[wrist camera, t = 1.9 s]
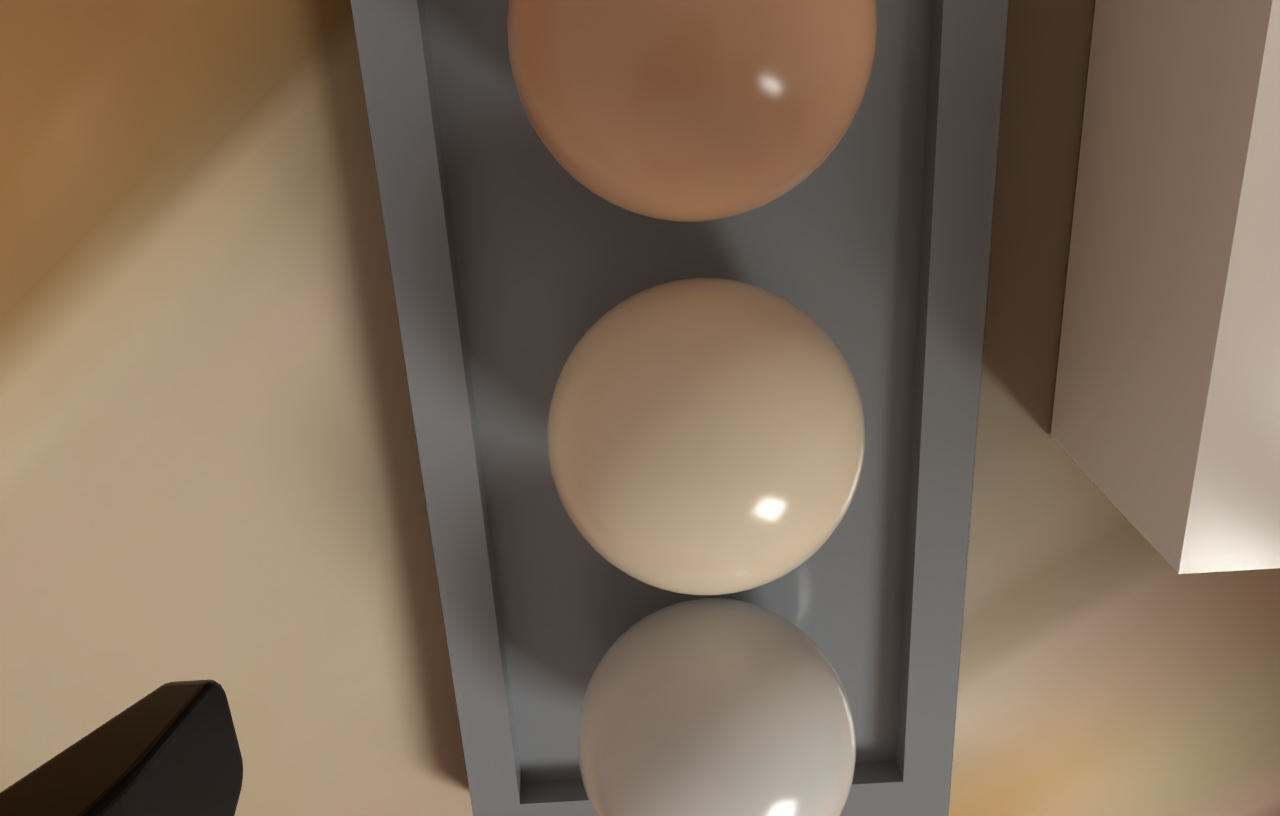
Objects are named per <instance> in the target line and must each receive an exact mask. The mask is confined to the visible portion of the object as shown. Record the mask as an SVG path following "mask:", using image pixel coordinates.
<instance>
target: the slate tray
mask: <svg viewBox="0 0 1280 816" xmlns="http://www.w3.org/2000/svg"><path fill="white" fill-rule="evenodd" d="M350 1H351V7H352V14H353V21H354V27H355V34H356V41H357V47H358V54H359V60H360V67H361V74H362V80H363V87H364V94H365V100H366V107H367V113H368V120H369V127H370V133H371V140H372V147H373V153H374V160H375V167H376V173H377V180H378V186H379V193H380V200H381V206H382V213H383V220H384V226H385V233H386V239H387V246H388V253H389V259H390V266H391V273H392V279H393V286H394V293H395V299H396V306H397V312H398V319H399V326H400V332H401V339H402V346H403V352H404V359H405V366H406V372H407V379H408V385H409V392H410V399H411V405H412V412H413V419H414V425H415V432H416V438H417V445H418V452H419V458H420V465H421V472H422V478H423V485H424V492H425V498H426V505H427V511H428V518H429V525H430V531H431V538H432V545H433V551H434V558H435V565H436V571H437V578H438V584H439V591H440V598H441V604H442V611H443V618H444V624H445V631H446V637H447V644H448V651H449V657H450V664H451V671H452V677H453V684H454V691H455V697H456V704H457V710H458V717H459V724H460V730H461V737H462V744H463V750H464V757H465V764H466V770H467V777H468V783H469V790H470V797H471V803H472V810H473V816H597V815H596V813H595V811H594V810H593V807H592V805H591V803H590V801H589V799H588V796H587V793H586V790H585V788H584V785H583V781H582V776H581V772H580V767H579V761H578V747H577V730H578V723H579V716H580V710H581V704H582V701H583V698H584V695H585V692H586V689H587V686H588V684H589V681H590V679H591V677H592V675H593V673H594V671H595V669H596V667H597V665H598V664H599V662H600V661H601V659H602V658H603V657H604V655H605V654H606V652H607V651H608V649H609V648H610V647H611V646H612V645H613V643H614V642H615V641H616V640H617V639H618V638H619V637H620V636H621V635H622V634H623V633H625V632H626V631H627V630H628V629H629V628H631V627H632V626H633V625H634V624H635V623H637V622H638V621H640V620H641V619H643V618H644V617H646V616H647V615H649V614H651V613H653V612H655V611H657V610H659V609H661V608H664V607H667V606H670V605H673V604H676V603H680V602H684V601H688V600H695V599H703V598H725V599H734V600H740V601H744V602H748V603H752V604H755V605H758V606H761V607H763V608H766V609H768V610H770V611H772V612H774V613H776V614H778V615H780V616H782V617H784V618H786V619H787V620H789V621H790V622H791V623H793V624H794V625H796V626H797V627H798V628H800V629H801V630H802V631H803V632H804V633H805V634H806V635H807V636H808V637H810V638H811V639H812V640H813V641H814V642H815V643H816V644H817V645H818V647H819V648H820V649H821V650H822V651H823V653H824V654H825V655H826V657H827V658H828V659H829V661H830V662H831V664H832V665H833V667H834V669H835V670H836V672H837V674H838V675H839V677H840V680H841V682H842V684H843V687H844V689H845V691H846V694H847V696H848V699H849V702H850V706H851V711H852V715H853V720H854V724H855V734H856V761H855V770H854V775H853V781H852V785H851V788H850V792H849V795H848V798H847V800H846V803H845V805H844V807H843V810H842V812H841V814H840V816H948V814H949V800H950V787H951V773H952V760H953V746H954V733H955V719H956V706H957V692H958V679H959V665H960V652H961V638H962V625H963V611H964V597H965V584H966V570H967V557H968V543H969V530H970V516H971V503H972V489H973V476H974V462H975V449H976V435H977V422H978V408H979V395H980V381H981V367H982V354H983V340H984V327H985V313H986V300H987V286H988V273H989V259H990V246H991V232H992V219H993V205H994V192H995V178H996V164H997V151H998V137H999V124H1000V110H1001V97H1002V83H1003V70H1004V56H1005V43H1006V29H1007V16H1008V2H1009V0H876V1H877V26H878V30H877V41H876V52H875V58H874V62H873V67H872V72H871V76H870V80H869V83H868V86H867V89H866V92H865V95H864V97H863V100H862V103H861V105H860V107H859V109H858V111H857V113H856V115H855V117H854V119H853V121H852V123H851V125H850V127H849V128H848V130H847V131H846V133H845V135H844V136H843V138H842V139H841V141H840V142H839V144H838V145H837V146H836V148H835V149H834V150H833V151H832V152H831V154H830V155H829V156H828V157H827V158H826V160H825V161H824V162H823V163H822V164H821V165H820V166H819V167H818V168H817V169H816V170H815V171H814V172H813V173H812V174H811V175H809V176H808V177H807V178H806V179H805V180H804V181H803V182H801V183H800V184H798V185H797V186H796V187H794V188H793V189H792V190H790V191H789V192H787V193H786V194H784V195H782V196H781V197H779V198H777V199H775V200H773V201H772V202H770V203H768V204H766V205H764V206H761V207H759V208H756V209H754V210H751V211H749V212H746V213H743V214H740V215H736V216H732V217H728V218H724V219H718V220H710V221H702V222H677V221H670V220H663V219H655V218H652V217H648V216H644V215H641V214H637V213H633V212H631V211H628V210H626V209H623V208H621V207H619V206H616V205H614V204H611V203H610V202H608V201H606V200H604V199H603V198H601V197H599V196H598V195H596V194H594V193H592V192H591V191H589V190H588V189H587V188H586V187H584V186H583V185H582V184H580V183H579V182H578V181H576V180H575V179H574V178H573V177H572V176H571V175H570V174H569V173H568V172H567V171H566V170H565V169H564V168H563V167H562V166H561V165H560V164H559V163H558V162H557V161H556V160H555V159H554V158H553V156H552V155H551V154H550V153H549V151H548V150H547V149H546V147H545V146H544V145H543V144H542V142H541V141H540V139H539V137H538V136H537V134H536V132H535V131H534V129H533V127H532V125H531V124H530V122H529V120H528V118H527V115H526V113H525V111H524V108H523V106H522V104H521V102H520V99H519V96H518V93H517V89H516V86H515V82H514V79H513V76H512V70H511V64H510V58H509V52H508V32H507V20H508V9H509V0H350ZM691 278H722V279H729V280H737V281H740V282H744V283H748V284H752V285H755V286H758V287H760V288H763V289H765V290H768V291H770V292H772V293H775V294H777V295H779V296H781V297H783V298H784V299H786V300H788V301H789V302H791V303H793V304H795V305H796V306H798V307H799V308H800V309H801V310H803V311H804V312H805V313H807V314H808V315H809V316H810V317H812V318H813V319H814V320H815V321H816V322H817V323H818V325H819V326H820V327H821V328H822V329H823V330H824V331H825V332H826V333H827V334H828V335H829V336H830V338H831V339H832V340H833V342H834V343H835V344H836V346H837V347H838V349H839V350H840V351H841V353H842V354H843V356H844V358H845V360H846V362H847V364H848V366H849V368H850V370H851V372H852V375H853V377H854V380H855V383H856V386H857V388H858V391H859V394H860V397H861V402H862V407H863V413H864V424H865V452H864V462H863V466H862V470H861V475H860V479H859V482H858V486H857V489H856V492H855V494H854V497H853V499H852V502H851V504H850V506H849V508H848V510H847V512H846V513H845V515H844V517H843V519H842V521H841V522H840V523H839V525H838V526H837V527H836V529H835V530H834V532H833V533H832V534H831V536H830V537H829V538H828V539H827V541H826V542H825V543H824V544H823V545H822V546H821V547H820V548H819V549H818V550H817V551H816V552H815V553H814V554H813V555H812V556H811V557H810V558H808V559H807V560H806V561H805V562H803V563H802V564H801V565H800V566H798V567H797V568H795V569H793V570H792V571H790V572H789V573H787V574H786V575H784V576H782V577H780V578H778V579H776V580H773V581H771V582H769V583H767V584H764V585H761V586H758V587H756V588H753V589H749V590H745V591H740V592H736V593H730V594H721V595H691V594H682V593H676V592H672V591H667V590H663V589H660V588H657V587H654V586H651V585H649V584H646V583H644V582H642V581H640V580H638V579H636V578H634V577H631V576H629V575H628V574H626V573H625V572H623V571H621V570H620V569H618V568H617V567H615V566H614V565H612V564H611V563H609V562H608V561H607V560H606V559H605V558H603V557H602V556H601V555H600V554H599V553H598V552H597V551H595V550H594V548H593V547H592V546H591V545H590V544H589V543H588V542H587V541H586V539H585V538H584V537H583V536H582V535H581V533H580V532H579V531H578V529H577V528H576V526H575V525H574V523H573V522H572V520H571V519H570V517H569V516H568V514H567V512H566V510H565V508H564V506H563V504H562V502H561V500H560V498H559V495H558V492H557V489H556V486H555V483H554V480H553V476H552V473H551V468H550V463H549V457H548V433H547V426H548V417H549V409H550V404H551V400H552V397H553V393H554V389H555V386H556V383H557V380H558V378H559V376H560V373H561V371H562V369H563V366H564V364H565V362H566V360H567V359H568V357H569V355H570V354H571V352H572V350H573V349H574V347H575V346H576V345H577V343H578V342H579V341H580V340H581V338H582V337H583V336H584V335H585V333H586V332H587V331H588V330H589V329H590V328H591V327H592V326H593V325H594V324H595V323H596V322H597V321H598V320H599V319H600V318H601V317H602V316H603V315H604V314H605V313H607V312H608V311H609V310H611V309H612V308H614V307H615V306H616V305H618V304H619V303H620V302H622V301H624V300H626V299H628V298H629V297H631V296H633V295H635V294H637V293H639V292H641V291H644V290H646V289H649V288H651V287H654V286H656V285H660V284H664V283H668V282H672V281H676V280H683V279H691Z"/></svg>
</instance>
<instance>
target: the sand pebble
mask: <svg viewBox="0 0 1280 816" xmlns="http://www.w3.org/2000/svg"><path fill="white" fill-rule="evenodd" d="M547 433H548V457H549V463H550V468H551V473H552V476H553V480H554V483H555V486H556V489H557V492H558V495H559V498H560V500H561V502H562V504H563V506H564V508H565V510H566V512H567V514H568V516H569V517H570V519H571V520H572V522H573V523H574V525H575V526H576V528H577V529H578V531H579V532H580V533H581V535H582V536H583V537H584V538H585V539H586V541H587V542H588V543H589V544H590V545H591V546H592V547H593V548H594V550H595V551H597V552H598V553H599V554H600V555H601V556H602V557H603V558H605V559H606V560H607V561H608V562H609V563H611V564H612V565H614V566H615V567H617V568H618V569H620V570H621V571H623V572H625V573H626V574H628V575H629V576H631V577H634V578H636V579H638V580H640V581H642V582H644V583H646V584H649V585H651V586H654V587H657V588H660V589H663V590H667V591H672V592H676V593H682V594H691V595H721V594H730V593H736V592H740V591H745V590H749V589H753V588H756V587H758V586H761V585H764V584H767V583H769V582H771V581H773V580H776V579H778V578H780V577H782V576H784V575H786V574H787V573H789V572H790V571H792V570H793V569H795V568H797V567H798V566H800V565H801V564H802V563H803V562H805V561H806V560H807V559H808V558H810V557H811V556H812V555H813V554H814V553H815V552H816V551H817V550H818V549H819V548H820V547H821V546H822V545H823V544H824V543H825V542H826V541H827V539H828V538H829V537H830V536H831V534H832V533H833V532H834V530H835V529H836V527H837V526H838V525H839V523H840V522H841V521H842V519H843V517H844V515H845V513H846V512H847V510H848V508H849V506H850V504H851V502H852V499H853V497H854V494H855V492H856V489H857V486H858V482H859V479H860V475H861V470H862V466H863V462H864V452H865V424H864V413H863V407H862V402H861V397H860V394H859V391H858V388H857V386H856V383H855V380H854V377H853V375H852V372H851V370H850V368H849V366H848V364H847V362H846V360H845V358H844V356H843V354H842V353H841V351H840V350H839V349H838V347H837V346H836V344H835V343H834V342H833V340H832V339H831V338H830V336H829V335H828V334H827V333H826V332H825V331H824V330H823V329H822V328H821V327H820V326H819V325H818V323H817V322H816V321H815V320H814V319H813V318H812V317H810V316H809V315H808V314H807V313H805V312H804V311H803V310H801V309H800V308H799V307H798V306H796V305H795V304H793V303H791V302H789V301H788V300H786V299H784V298H783V297H781V296H779V295H777V294H775V293H772V292H770V291H768V290H765V289H763V288H760V287H758V286H755V285H752V284H748V283H744V282H740V281H737V280H729V279H722V278H691V279H683V280H676V281H672V282H668V283H664V284H660V285H656V286H654V287H651V288H649V289H646V290H644V291H641V292H639V293H637V294H635V295H633V296H631V297H629V298H628V299H626V300H624V301H622V302H620V303H619V304H618V305H616V306H615V307H614V308H612V309H611V310H609V311H608V312H607V313H605V314H604V315H603V316H602V317H601V318H600V319H599V320H598V321H597V322H596V323H595V324H594V325H593V326H592V327H591V328H590V329H589V330H588V331H587V332H586V333H585V335H584V336H583V337H582V338H581V340H580V341H579V342H578V343H577V345H576V346H575V347H574V349H573V350H572V352H571V354H570V355H569V357H568V359H567V360H566V362H565V364H564V366H563V369H562V371H561V373H560V376H559V378H558V380H557V383H556V386H555V389H554V393H553V397H552V400H551V404H550V409H549V417H548V426H547Z"/></svg>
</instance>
